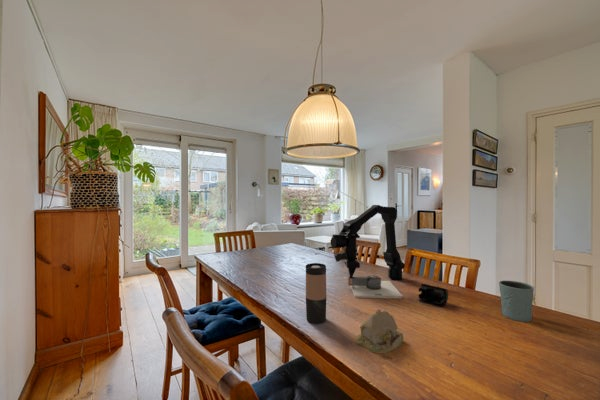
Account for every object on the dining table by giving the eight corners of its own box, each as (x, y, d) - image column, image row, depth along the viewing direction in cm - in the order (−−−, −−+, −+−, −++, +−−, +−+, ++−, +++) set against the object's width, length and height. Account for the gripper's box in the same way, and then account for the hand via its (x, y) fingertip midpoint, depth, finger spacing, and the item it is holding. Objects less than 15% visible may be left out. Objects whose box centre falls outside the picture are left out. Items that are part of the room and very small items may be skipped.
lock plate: (389, 282, 136) (389, 280, 136) (402, 298, 115) (402, 295, 115) (348, 282, 137) (348, 279, 137) (355, 297, 116) (355, 294, 116)
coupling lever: (378, 284, 129) (378, 274, 129) (382, 289, 122) (382, 278, 122) (347, 284, 130) (347, 273, 130) (348, 289, 123) (348, 278, 123)
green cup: (525, 325, 91) (525, 290, 91) (493, 313, 100) (493, 282, 100) (539, 318, 95) (539, 286, 95) (506, 308, 104) (507, 278, 104)
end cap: (448, 303, 110) (448, 287, 110) (442, 308, 105) (442, 291, 105) (424, 296, 117) (424, 281, 117) (417, 301, 112) (417, 285, 112)
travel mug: (328, 316, 98) (328, 263, 98) (323, 326, 91) (323, 269, 91) (309, 313, 101) (308, 262, 100) (303, 322, 93) (302, 267, 93)
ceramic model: (374, 358, 73) (374, 323, 73) (349, 338, 83) (349, 307, 83) (409, 345, 79) (409, 312, 79) (383, 328, 89) (383, 299, 89)
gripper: (333, 243, 143) (333, 271, 143) (336, 250, 124) (336, 283, 124) (354, 243, 142) (354, 272, 142) (360, 250, 123) (360, 283, 123)
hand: (350, 277), depth 133 cm, fingers closed
